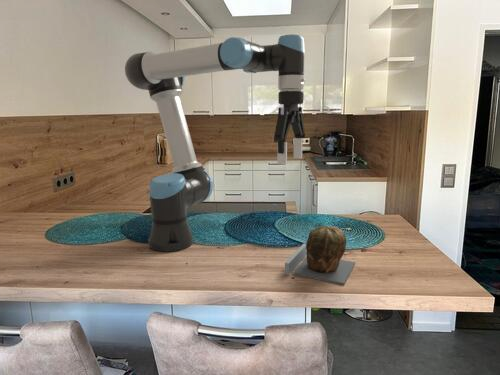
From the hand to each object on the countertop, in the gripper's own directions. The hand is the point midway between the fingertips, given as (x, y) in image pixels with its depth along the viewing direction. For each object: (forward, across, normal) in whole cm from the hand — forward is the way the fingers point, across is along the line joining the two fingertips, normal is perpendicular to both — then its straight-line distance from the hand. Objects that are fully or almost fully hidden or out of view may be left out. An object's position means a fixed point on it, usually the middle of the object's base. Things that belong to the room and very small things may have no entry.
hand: (290, 161), depth 112 cm
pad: (+29, -11, -15) cm, 34 cm away
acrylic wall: (+29, -11, -6) cm, 31 cm away
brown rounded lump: (+28, -11, -15) cm, 34 cm away
